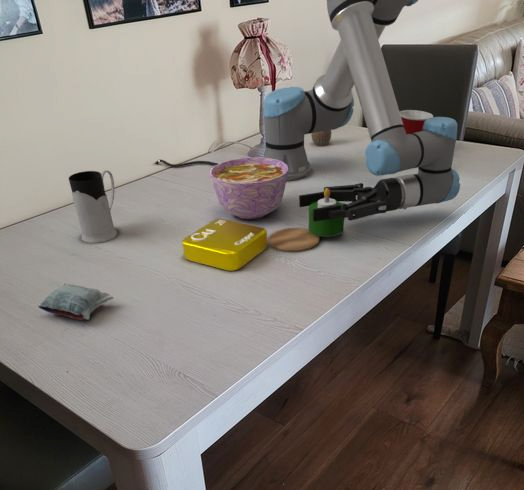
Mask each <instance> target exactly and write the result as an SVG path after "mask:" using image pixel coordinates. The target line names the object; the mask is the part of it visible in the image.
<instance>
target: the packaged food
mask: <svg viewBox="0 0 524 490" xmlns="http://www.w3.org/2000/svg"><path fill="white" fill-rule="evenodd" d="M113 299H114V296H113V295H112V294H110V293H108V292H101V290H99V289H97V288H90V287H86V286H81V285H75V284H70V283H68V284H67V283H64V284H63V285H57V286H56V287H55V288H54V289H53V290H52V291H51V292H50V293H49V294H48V295H47V296H46V297H45V299H43V301H42V302H40V303H39V304H38V305H37V307H38V308H39V309H41V310H43V311H45V312H47V313H49V314H53V315H60V316H65V317H68V318H71V319H75V320H80V321H83V320H87V321H88V320H90V318H91V317H90V316H91V314H92V313H93V312H94V311H95V310H97V309H98V308H99V307H100V306H102V305H104V304H105V303H107V302H108V301H111V300H113Z"/></svg>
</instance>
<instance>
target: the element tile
mask: <svg viewBox="0 0 524 490" xmlns="http://www.w3.org/2000/svg"><path fill="white" fill-rule="evenodd" d="M181 243H182V251H183V257H184V259H185V260H187V261H191V262H194V263H198V264H202V265H206V266H209V267H212V268H217V269H219V270H223V271H228V272H233V271H238V270H239V269H241V268H243V267H244V266H245V265H246V264H248V263H249V262H250V261H251V260H253V259H254V258H256V257H257V256H258V255H259V254H260V253H262V252H264V250H266V249H267V247H268V231H267V229H266V228H265V227H263V226H257V225H252V224H248V223H243V222H238V221H233V220H230V219H224V218H216V219H214V220H212V221H210V222H208V223H207V224H206V225H204V226H202V227H200V228H198V229H197V230H195V231H194V232H192V233H191V234H189V235H188V236H186V237H184V238H183V239H182V241H181Z"/></svg>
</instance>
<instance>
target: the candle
mask: <svg viewBox="0 0 524 490" xmlns="http://www.w3.org/2000/svg"><path fill="white" fill-rule="evenodd" d="M323 192H324V196H325V198H323V199H320V200H318V201H317V202H314V203H312V204H311V205H310V206H308V230H309V231H310V232H311V233H312V234H314V235H317V236H319V237H326V238H327V237H334V236H338V235H340V234H341V233H343V232H344V229H345V218H342V217H339V218H333V219H327V220H321V221H315V222H314V221H313V209H316V208H322V207H328V206H334V205H341V208H342V203H343V202H340V201H336V200H334V199H331V198H329V196H330V190H329V189H328V188H326V189H325V191H324V190H323Z"/></svg>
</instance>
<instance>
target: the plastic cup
mask: <svg viewBox="0 0 524 490" xmlns="http://www.w3.org/2000/svg"><path fill="white" fill-rule="evenodd" d="M399 112H400V115H401V119H402V122H403V125H404V129H405V132H406V134H411V133H416V132H421V131H423V130H422V128H423V126H424V122H425V121H426V120H427V119H429V118H432V117H434V115H433V114H432V113H430V112H428V111H423V110H416V109H406V110H399Z"/></svg>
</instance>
